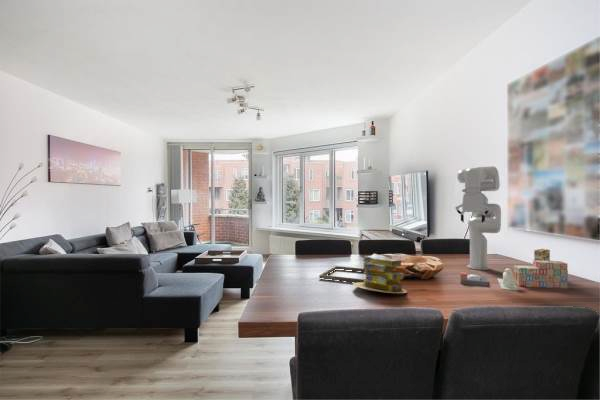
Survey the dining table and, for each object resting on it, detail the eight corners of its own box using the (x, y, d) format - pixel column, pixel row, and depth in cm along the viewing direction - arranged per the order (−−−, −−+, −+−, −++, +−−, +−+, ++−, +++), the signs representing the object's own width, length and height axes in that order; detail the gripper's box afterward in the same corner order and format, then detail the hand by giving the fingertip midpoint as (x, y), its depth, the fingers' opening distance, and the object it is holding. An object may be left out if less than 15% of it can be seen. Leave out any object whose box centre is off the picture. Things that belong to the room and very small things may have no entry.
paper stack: (376, 282, 174) (376, 250, 173) (417, 292, 154) (417, 256, 153) (342, 290, 159) (342, 255, 159) (383, 303, 139) (383, 263, 139)
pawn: (501, 284, 165) (501, 266, 165) (513, 285, 163) (513, 267, 162) (502, 287, 160) (502, 268, 160) (515, 288, 158) (515, 269, 158)
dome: (466, 278, 175) (466, 273, 175) (480, 279, 173) (480, 274, 173) (466, 281, 170) (466, 276, 170) (480, 282, 167) (480, 277, 167)
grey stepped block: (460, 278, 179) (460, 268, 179) (486, 280, 174) (485, 270, 174) (460, 283, 168) (460, 272, 168) (487, 286, 163) (487, 275, 163)
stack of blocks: (519, 286, 163) (519, 261, 163) (513, 283, 169) (513, 259, 169) (567, 288, 159) (567, 263, 159) (560, 285, 165) (560, 260, 165)
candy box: (542, 279, 175) (542, 251, 175) (533, 278, 179) (533, 249, 179) (550, 277, 180) (550, 249, 180) (541, 275, 184) (541, 248, 184)
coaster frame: (335, 270, 202) (335, 265, 202) (378, 274, 191) (378, 269, 191) (319, 279, 179) (319, 275, 179) (366, 285, 167) (366, 280, 167)
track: (497, 279, 177) (497, 278, 177) (511, 280, 174) (511, 279, 174) (501, 289, 158) (501, 288, 158) (517, 290, 155) (517, 289, 155)
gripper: (455, 191, 182) (455, 222, 182) (491, 191, 174) (491, 223, 174) (455, 191, 189) (455, 221, 189) (490, 191, 181) (490, 222, 181)
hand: (472, 222), depth 182 cm, fingers open, 9 cm apart
